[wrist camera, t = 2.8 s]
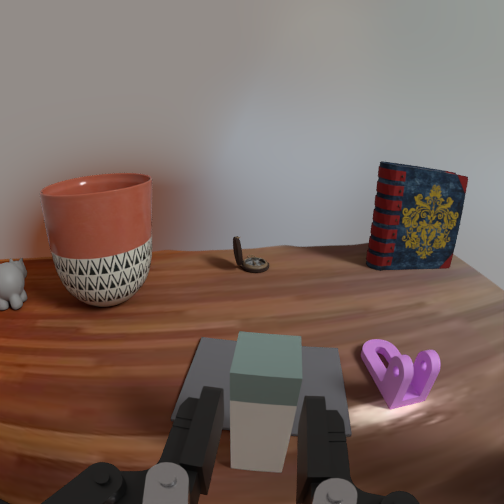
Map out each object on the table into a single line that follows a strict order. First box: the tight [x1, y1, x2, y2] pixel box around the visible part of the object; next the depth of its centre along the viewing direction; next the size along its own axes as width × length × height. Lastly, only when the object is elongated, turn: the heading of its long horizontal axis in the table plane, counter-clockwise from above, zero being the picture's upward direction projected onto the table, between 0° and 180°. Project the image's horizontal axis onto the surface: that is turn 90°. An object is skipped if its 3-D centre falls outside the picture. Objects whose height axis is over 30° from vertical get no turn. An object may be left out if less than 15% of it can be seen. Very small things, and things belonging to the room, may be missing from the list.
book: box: [366, 162, 468, 271], centre depth 71 cm, size 25×7×25 cm, turn 95°
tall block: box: [230, 331, 302, 473], centre depth 26 cm, size 5×5×14 cm
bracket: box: [361, 339, 440, 409], centre depth 38 cm, size 13×6×7 cm, turn 6°
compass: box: [233, 236, 269, 273], centre depth 70 cm, size 8×8×7 cm
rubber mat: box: [171, 337, 351, 436], centre depth 38 cm, size 20×16×1 cm
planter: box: [40, 173, 152, 307], centre depth 51 cm, size 20×20×21 cm
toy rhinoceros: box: [0, 258, 27, 310], centre depth 50 cm, size 7×12×8 cm, turn 12°
